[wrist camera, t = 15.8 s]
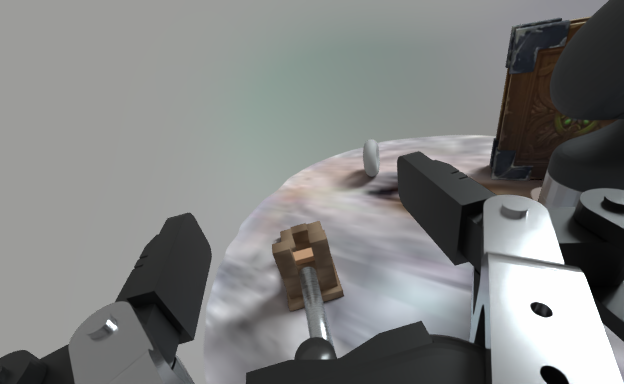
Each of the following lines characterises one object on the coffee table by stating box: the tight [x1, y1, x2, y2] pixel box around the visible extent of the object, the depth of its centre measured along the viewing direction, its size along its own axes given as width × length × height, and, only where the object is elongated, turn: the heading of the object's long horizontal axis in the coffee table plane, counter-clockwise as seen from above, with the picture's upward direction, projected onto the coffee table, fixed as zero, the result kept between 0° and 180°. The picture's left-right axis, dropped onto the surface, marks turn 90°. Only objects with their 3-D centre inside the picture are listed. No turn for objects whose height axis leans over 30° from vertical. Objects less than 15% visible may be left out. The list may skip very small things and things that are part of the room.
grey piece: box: [294, 267, 337, 360], centre depth 29 cm, size 3×18×13 cm, turn 10°
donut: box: [363, 139, 380, 176], centre depth 71 cm, size 10×4×10 cm, turn 163°
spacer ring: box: [293, 248, 315, 265], centre depth 44 cm, size 7×2×6 cm, turn 100°
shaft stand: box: [272, 221, 344, 311], centre depth 48 cm, size 9×19×12 cm, turn 10°
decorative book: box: [490, 16, 618, 181], centre depth 50 cm, size 23×7×30 cm, turn 65°
